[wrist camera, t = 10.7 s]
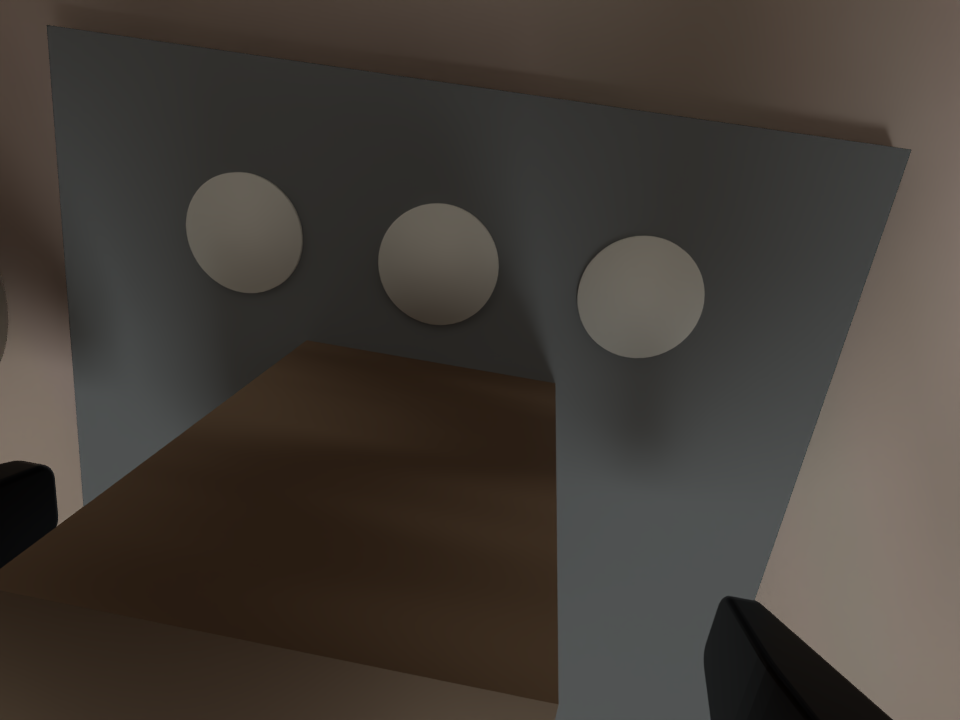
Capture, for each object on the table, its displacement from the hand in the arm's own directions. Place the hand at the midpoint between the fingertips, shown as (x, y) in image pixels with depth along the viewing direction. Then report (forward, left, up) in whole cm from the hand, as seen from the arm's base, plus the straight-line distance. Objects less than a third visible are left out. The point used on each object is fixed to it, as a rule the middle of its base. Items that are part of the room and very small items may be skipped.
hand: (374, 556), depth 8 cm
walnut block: (0, 0, -2) cm, 2 cm away
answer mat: (0, 0, -3) cm, 3 cm away
